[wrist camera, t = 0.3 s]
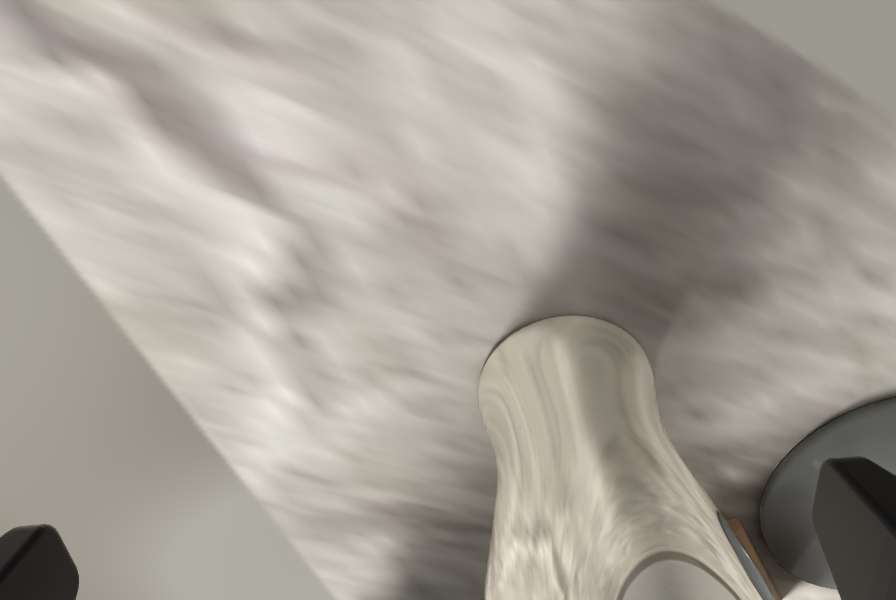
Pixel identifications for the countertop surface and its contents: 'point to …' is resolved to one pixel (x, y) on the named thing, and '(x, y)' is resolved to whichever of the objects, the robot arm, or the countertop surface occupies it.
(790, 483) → the slate coaster
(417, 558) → the countertop surface
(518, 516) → the beer glass
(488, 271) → the countertop surface
